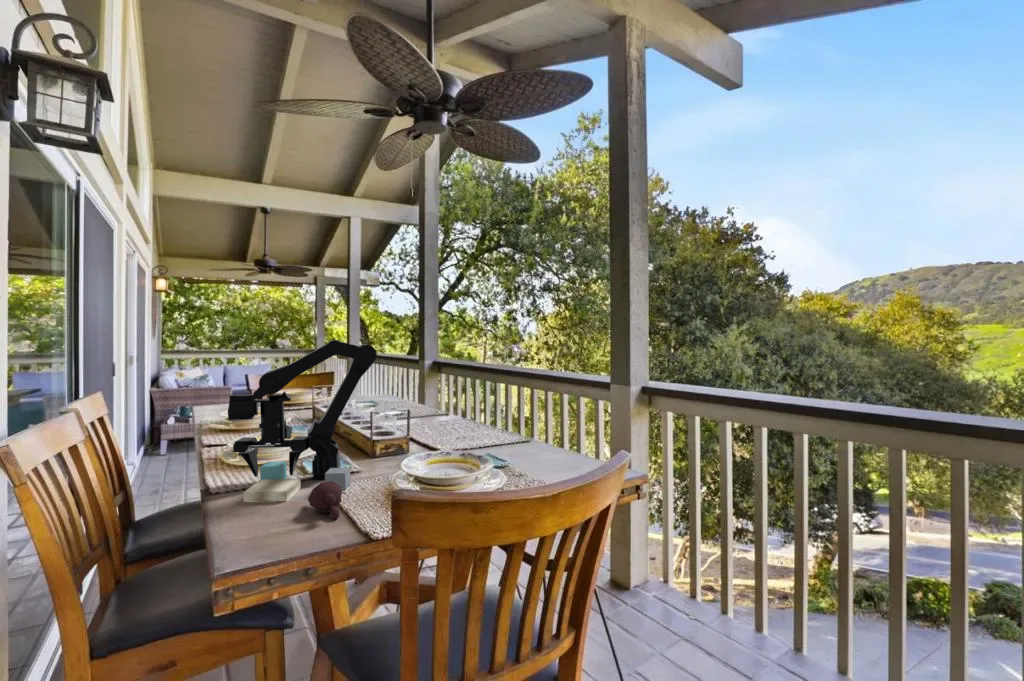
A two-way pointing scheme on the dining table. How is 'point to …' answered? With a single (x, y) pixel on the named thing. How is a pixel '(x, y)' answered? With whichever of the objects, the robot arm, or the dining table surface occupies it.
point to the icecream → (326, 498)
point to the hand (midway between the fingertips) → (274, 475)
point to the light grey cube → (339, 477)
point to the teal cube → (273, 470)
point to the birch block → (272, 490)
